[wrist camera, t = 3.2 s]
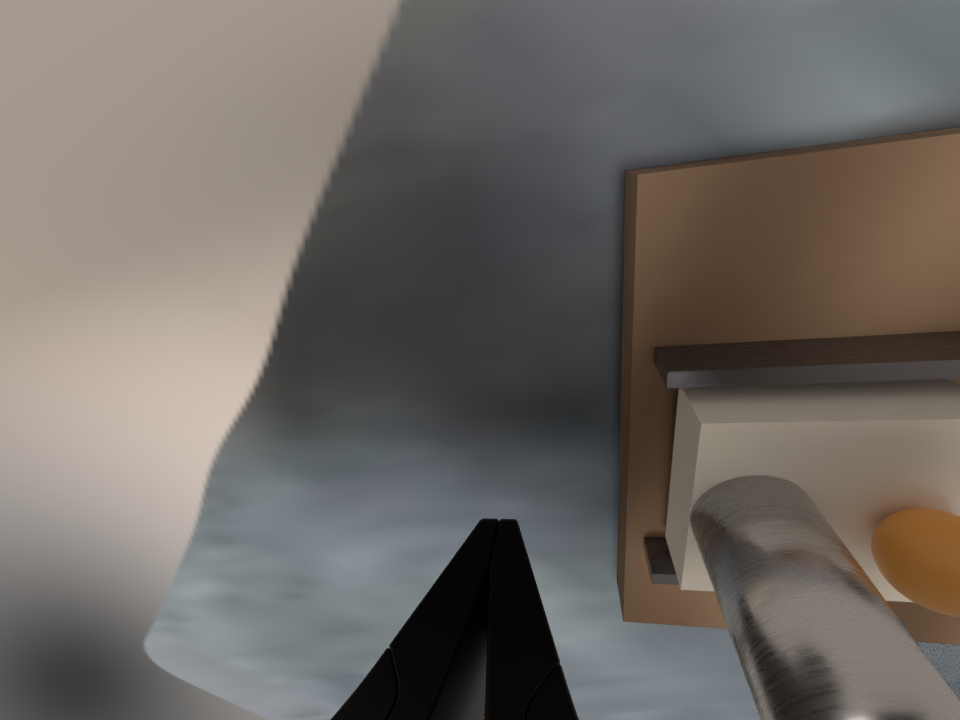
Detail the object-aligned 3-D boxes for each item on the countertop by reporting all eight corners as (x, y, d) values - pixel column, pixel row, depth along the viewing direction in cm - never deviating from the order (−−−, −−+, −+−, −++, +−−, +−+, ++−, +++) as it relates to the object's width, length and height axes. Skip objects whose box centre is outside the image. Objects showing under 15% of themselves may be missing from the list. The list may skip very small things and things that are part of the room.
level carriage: (939, 373, 9) (1463, 680, 4) (871, 542, 11) (1141, 878, 6) (679, 382, 10) (816, 635, 5) (665, 536, 12) (747, 819, 7)
